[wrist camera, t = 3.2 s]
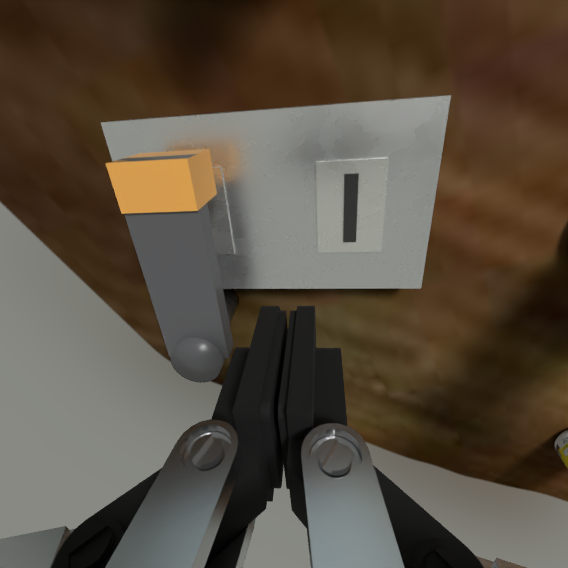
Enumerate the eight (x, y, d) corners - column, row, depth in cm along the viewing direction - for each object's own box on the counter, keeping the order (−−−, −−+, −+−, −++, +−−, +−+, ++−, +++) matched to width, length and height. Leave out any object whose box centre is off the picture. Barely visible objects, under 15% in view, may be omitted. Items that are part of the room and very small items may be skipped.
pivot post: (237, 289, 33) (219, 326, 28) (240, 309, 34) (224, 348, 29) (214, 289, 33) (192, 325, 28) (218, 308, 35) (198, 347, 29)
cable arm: (242, 346, 30) (230, 383, 26) (191, 345, 31) (171, 381, 27) (209, 148, 22) (183, 160, 18) (139, 153, 23) (100, 165, 19)
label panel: (437, 95, 23) (452, 95, 20) (413, 271, 30) (421, 290, 27) (122, 120, 26) (98, 122, 24) (165, 274, 33) (150, 290, 30)
